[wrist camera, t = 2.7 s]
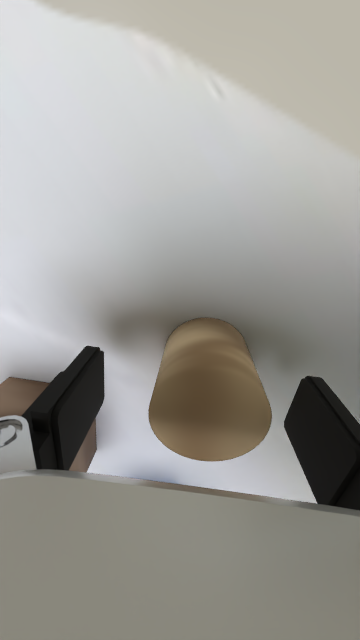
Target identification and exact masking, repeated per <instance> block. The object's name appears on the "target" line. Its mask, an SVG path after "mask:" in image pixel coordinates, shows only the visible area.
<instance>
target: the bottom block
mask: <svg viewBox="0 0 360 640" xmlns="http://www.w3.org/2000/svg"><path fill="white" fill-rule="evenodd" d="M49 384H50V383H46V382H39V381H33V380H26V379H19V378H13V377H9V378H8V379H6V380H5V381H4V382H3V383H1V384H0V418H1V417H5V416H12V415H17V416H21V415H22V414H23V413H24V412H25V411H26V410H27V409H28V408H29V406H30V405H31V404H32V403H33V402H34V401H35V400H36V399H37V398H38V396H39V395H40V394H41V393H42V392H43V391H44V390H45V389H46V387H47V386H48V385H49ZM96 450H97V448H96V419H94V421H93V423H92V425H91V427H90V429H89V431H88V433H87V435H86V437H85V439H84V441H83V443H82V445H81V447H80V449H79V451H78V453H77V455H76V457H75V459H74V461H73V463H72V465H71V467H70V469H69V471H77V472H87V470H88V468H89V466H90V463H91V461H92V459H93V457H94V455H95V452H96Z"/></svg>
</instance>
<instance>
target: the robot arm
mask: <svg viewBox="0 0 360 640" xmlns="http://www.w3.org/2000/svg"><path fill="white" fill-rule="evenodd" d="M103 401H104V352H103V351H100V348H99V347H92V346H86V347H85V348H84V349H83V350H82V351H81V353H80V354H79V355H78V356H77V357H76V358H75V359H74V361H73V362H72V363H71V364H70V365H69V366H68V368H67V369H66V370H65V371H63V372H60V373H59V374H58V375H57V376H56V377H55V378H54V380H53V381H52V382H51V383H50V384H49V385H48V386H47V387H46V389H45V390H44V391H43V392H42V393H41V394H40V395H39V396H38V398H37V399H36V400H35V401H34V402H33V403H32V404H31V405H30V406H29V408H28V409H27V410H26V411H25V412H24V413H23V414H22V415H21V416H17V415H12V416H5V417H1V418H0V640H360V424H359V423H358V422H357V421H356V419H355V418H354V417H353V416H352V414H351V413H350V412H349V411H348V409H347V408H346V407H345V406H344V405H343V403H342V402H341V401H340V400H339V398H338V397H337V396H336V395H335V393H334V392H333V391H332V390H331V389H330V387H329V386H328V385H327V384H326V382H325V381H324V380H323V379H322V378H320V377H312V376H307V377H305V379H302V380H301V382H300V384H299V387H298V389H297V391H296V394H295V396H294V399H293V401H292V403H291V406H290V408H289V411H288V413H287V415H286V418H285V421H284V427H285V430H286V432H287V435H288V437H289V439H290V442H291V444H292V446H293V448H294V451H295V453H296V455H297V458H298V460H299V462H300V464H301V467H302V469H303V471H304V474H305V476H306V478H307V481H308V483H309V485H310V487H311V490H312V492H313V494H314V497H315V499H316V501H317V503H318V504H315V503H308V502H301V501H294V500H287V499H281V498H274V497H267V496H260V495H252V494H245V493H238V492H231V491H224V490H217V489H209V488H202V487H195V486H188V485H180V484H173V483H165V482H158V481H150V480H142V479H135V478H127V477H120V476H112V475H103V474H94V473H86V472H77V471H69V469H70V467H71V465H72V463H73V461H74V459H75V457H76V455H77V453H78V451H79V449H80V447H81V445H82V443H83V441H84V439H85V437H86V435H87V433H88V431H89V429H90V427H91V425H92V423H93V421H94V419H95V418H96V416H97V414H98V412H99V410H100V408H101V406H102V404H103Z"/></svg>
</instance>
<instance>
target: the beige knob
mask: <svg viewBox="0 0 360 640" xmlns="http://www.w3.org/2000/svg"><path fill="white" fill-rule="evenodd" d="M271 419H272V413H271V407H270V404H269V401H268V399H267V396H266V393H265V391H264V388H263V386H262V383H261V381H260V378H259V376H258V373H257V371H256V368H255V366H254V363H253V361H252V358H251V356H250V353H249V351H248V348H247V346H246V343H245V341H244V338H243V337H242V335H241V334H240V333H239V331H238V330H237V329H236V328H234V327H233V326H232V325H230V324H229V323H227V322H225V321H222V320H219V319H215V318H197V319H193V320H190V321H187V322H185V323H183V324H182V325H180V326H179V327H177V328H176V329H175V330H174V331H173V332H172V334H171V335H170V337H169V338H168V340H167V343H166V346H165V350H164V354H163V357H162V361H161V365H160V368H159V372H158V376H157V379H156V383H155V387H154V390H153V394H152V398H151V401H150V405H149V422H150V425H151V428H152V430H153V432H154V434H155V435H156V437H157V438H158V439H159V440H160V441H161V442H162V443H163V444H164V445H165V446H166V447H167V448H169V449H170V450H172V451H174V452H175V453H177V454H179V455H182V456H184V457H187V458H191V459H195V460H200V461H223V460H229V459H233V458H236V457H239V456H242V455H244V454H246V453H248V452H249V451H251V450H252V449H254V448H255V447H256V446H257V445H259V444H260V443H261V441H262V440H263V439H264V438H265V436H266V435H267V433H268V431H269V429H270V425H271Z"/></svg>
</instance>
